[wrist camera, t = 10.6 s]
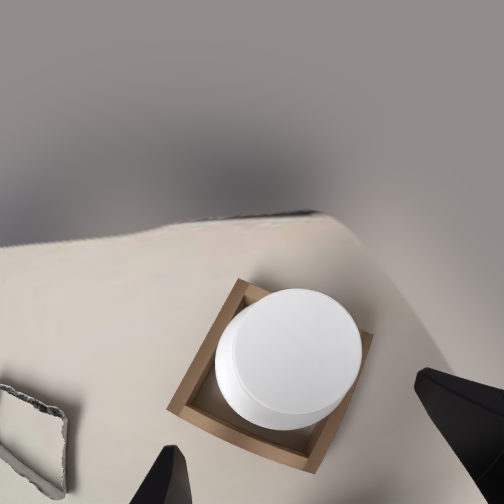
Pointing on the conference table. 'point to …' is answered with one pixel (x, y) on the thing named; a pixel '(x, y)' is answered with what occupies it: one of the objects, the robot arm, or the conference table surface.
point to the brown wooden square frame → (184, 409)
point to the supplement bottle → (288, 359)
